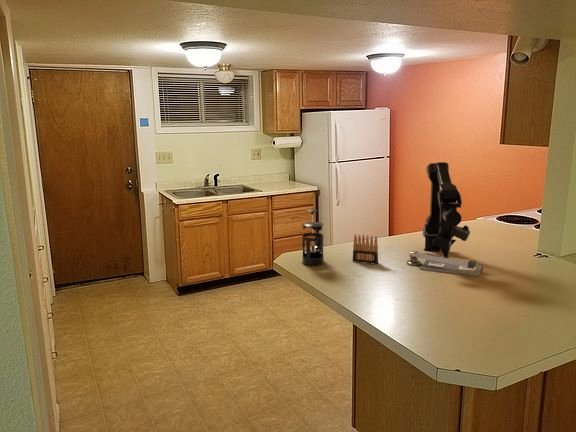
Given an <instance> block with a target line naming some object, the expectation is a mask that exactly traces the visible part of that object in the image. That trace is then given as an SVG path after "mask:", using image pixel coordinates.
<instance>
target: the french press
mask: <svg viewBox="0 0 576 432" xmlns="http://www.w3.org/2000/svg"><path fill="white" fill-rule="evenodd" d="M307 212H308V213H310V214H311V221H308V222H303V223H301V226H302V230H305V229H307V228H310V229H311V232H310V233H309V232H307V233H303V234H302V235H301V239H302V256H301V257H302V261H301V264H303V265H304V266H307V265H308V267H318V266H317V265H319V266H321V264H322V265H324V264H325V260H324V257H325V256H324V234H322V233H321V232H319V231H323V226H324V223H323V222H319V221H314V212H315V213H316V212H318V210H317V209H313V208H312V209H307ZM314 231H315V232H314ZM311 243H312V245H311ZM323 263H324V264H323Z"/></svg>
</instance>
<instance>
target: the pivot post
mask: <svg viewBox="0 0 576 432" xmlns="http://www.w3.org/2000/svg"><path fill="white" fill-rule="evenodd" d="M418 259H419V258H411V257H409V260H406V263H407V264H406V263H405V264H406V265H408V266H412V265H413V267H416V266H420V265H421V266H422V262H421V261H420V260H418Z"/></svg>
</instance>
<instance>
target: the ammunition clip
mask: <svg viewBox="0 0 576 432" xmlns="http://www.w3.org/2000/svg"><path fill="white" fill-rule="evenodd" d="M353 236H354V237H353V244H352V247H353V248H352V249H353V250H352V262H353V261H358V262H357V263H362V262H366V263H365V264H371V263H374V264H373V265H378V264H379V250H378V247H379V246H378V237H377V235H375V236H374V237H373V235H370V239H369V235H368V234H367V235H366V237H365V234H362V236H361V235H360V234H358V237H357V234H356V233H355V234H354V235H353Z"/></svg>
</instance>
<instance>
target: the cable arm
mask: <svg viewBox="0 0 576 432" xmlns="http://www.w3.org/2000/svg"><path fill="white" fill-rule="evenodd" d="M410 257H411V258H418V259H421V260H425V261H426V260H431V261H437V262H442V263H448V264H454V265H459V266H465V267H469V268H474V267H475V266H476V265H477V264H476V263H477V261H476V260H472V259H465V258H459V257H458V258H457V257H451V256H448V257H447V256H444V255H441V254H440V255H439V254H434V253H426V252H424V251H423V252H421V251H417V250H410V251H409V258H410Z"/></svg>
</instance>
